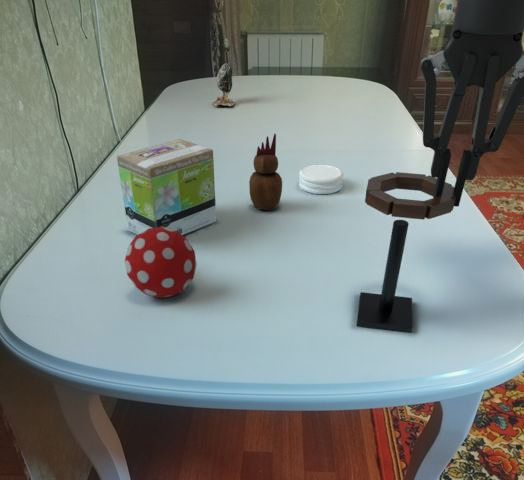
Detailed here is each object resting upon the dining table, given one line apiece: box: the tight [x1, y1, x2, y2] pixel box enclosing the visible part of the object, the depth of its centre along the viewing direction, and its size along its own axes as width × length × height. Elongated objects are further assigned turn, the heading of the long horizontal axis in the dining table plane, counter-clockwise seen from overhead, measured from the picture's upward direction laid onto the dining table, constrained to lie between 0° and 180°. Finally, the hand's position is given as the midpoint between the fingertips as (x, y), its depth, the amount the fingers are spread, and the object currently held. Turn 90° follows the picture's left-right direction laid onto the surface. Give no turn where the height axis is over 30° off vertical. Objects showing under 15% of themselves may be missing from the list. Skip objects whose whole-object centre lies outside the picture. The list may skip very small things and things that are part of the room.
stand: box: [355, 219, 414, 333], centre depth 73 cm, size 8×8×15 cm
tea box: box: [116, 138, 217, 236], centre depth 96 cm, size 15×10×15 cm, turn 137°
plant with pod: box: [212, 37, 236, 107], centre depth 169 cm, size 8×11×20 cm
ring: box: [364, 171, 456, 221], centre depth 69 cm, size 12×12×2 cm
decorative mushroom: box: [124, 227, 197, 299], centre depth 82 cm, size 11×11×15 cm
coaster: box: [298, 164, 344, 195], centre depth 116 cm, size 10×10×4 cm
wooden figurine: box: [248, 133, 283, 211], centre depth 103 cm, size 7×6×15 cm
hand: (445, 201), depth 69 cm, fingers closed on ring, 2 cm apart
